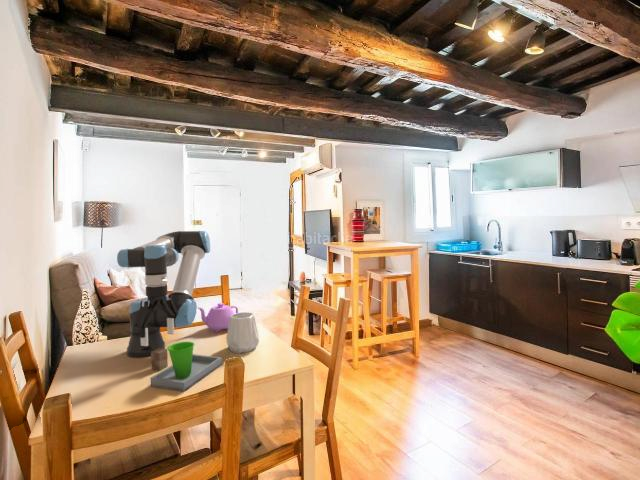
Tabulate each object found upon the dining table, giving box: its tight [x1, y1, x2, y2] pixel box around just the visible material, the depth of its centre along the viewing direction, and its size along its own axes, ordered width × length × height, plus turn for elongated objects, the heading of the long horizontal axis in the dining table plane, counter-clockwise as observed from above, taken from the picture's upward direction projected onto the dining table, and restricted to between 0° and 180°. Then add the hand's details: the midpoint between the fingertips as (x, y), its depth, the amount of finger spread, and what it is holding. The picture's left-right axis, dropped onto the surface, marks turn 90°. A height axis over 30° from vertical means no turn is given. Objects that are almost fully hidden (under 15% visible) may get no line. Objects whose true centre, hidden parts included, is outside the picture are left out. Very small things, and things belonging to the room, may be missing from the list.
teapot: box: [197, 302, 239, 334], centre depth 180 cm, size 22×16×14 cm
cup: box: [167, 341, 195, 379], centre depth 123 cm, size 9×9×11 cm
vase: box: [226, 312, 260, 354], centre depth 152 cm, size 14×14×15 cm
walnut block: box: [150, 348, 169, 372], centre depth 133 cm, size 4×4×7 cm
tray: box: [150, 353, 223, 392], centre depth 126 cm, size 14×22×3 cm, turn 163°
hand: (158, 339), depth 132 cm, fingers open, 13 cm apart
